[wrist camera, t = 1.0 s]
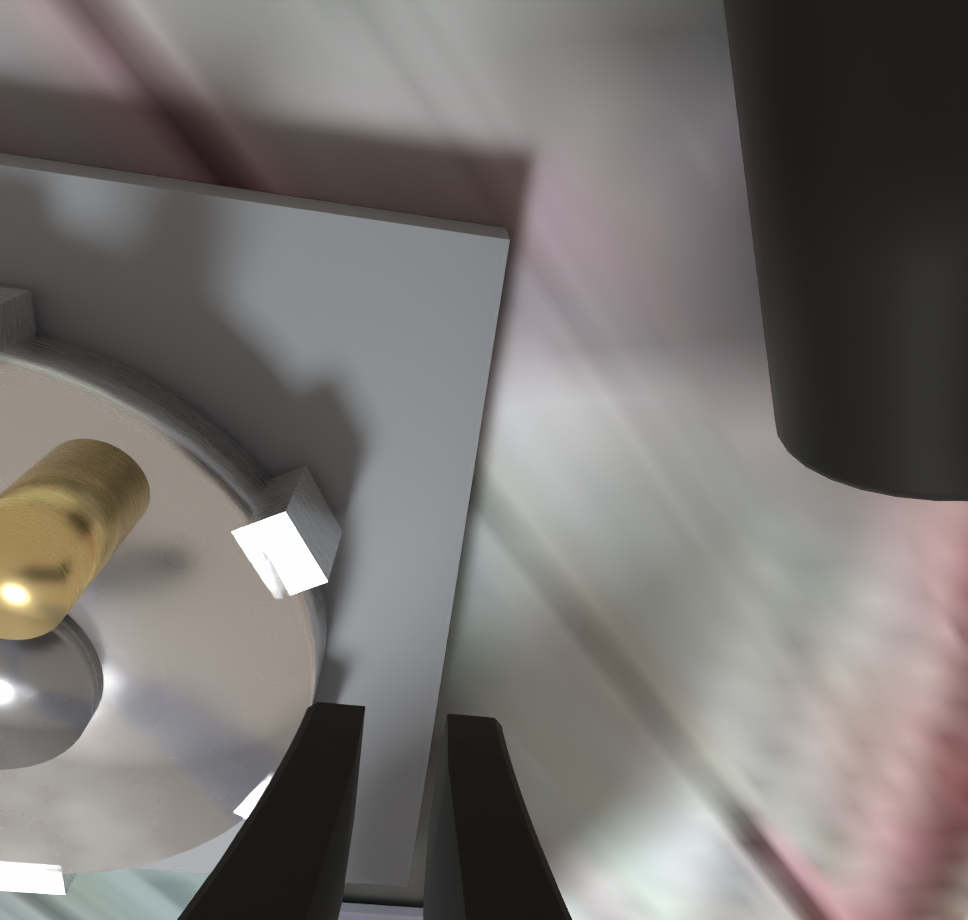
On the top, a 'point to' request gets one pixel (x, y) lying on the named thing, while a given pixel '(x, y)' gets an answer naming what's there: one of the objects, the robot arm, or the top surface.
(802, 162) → the electric motor
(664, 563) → the top surface
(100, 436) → the lugged metal disc
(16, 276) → the base plate
